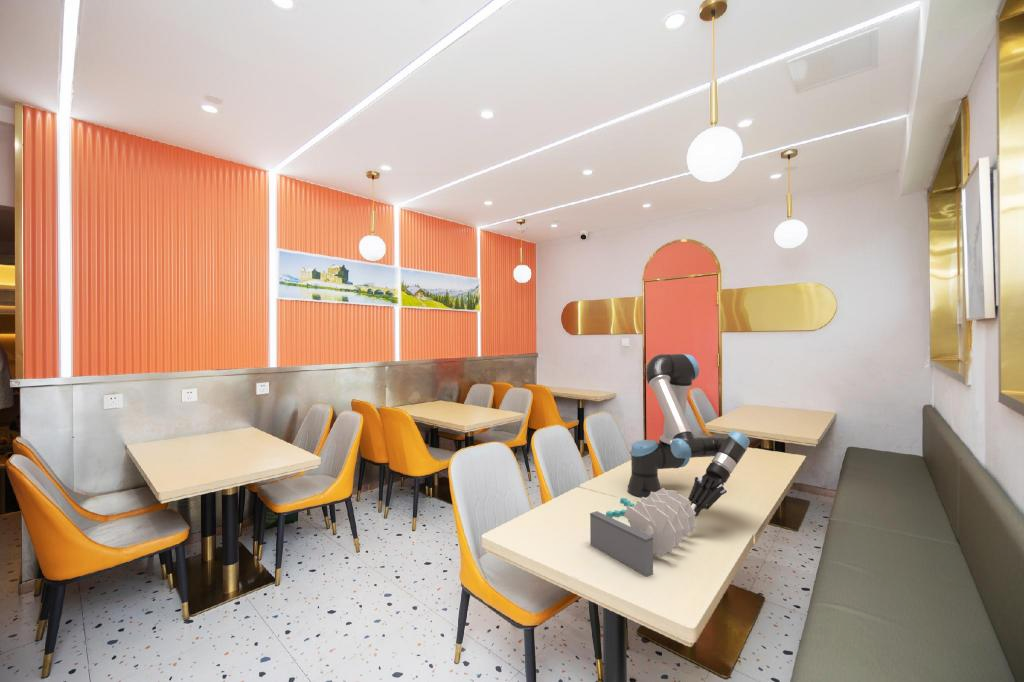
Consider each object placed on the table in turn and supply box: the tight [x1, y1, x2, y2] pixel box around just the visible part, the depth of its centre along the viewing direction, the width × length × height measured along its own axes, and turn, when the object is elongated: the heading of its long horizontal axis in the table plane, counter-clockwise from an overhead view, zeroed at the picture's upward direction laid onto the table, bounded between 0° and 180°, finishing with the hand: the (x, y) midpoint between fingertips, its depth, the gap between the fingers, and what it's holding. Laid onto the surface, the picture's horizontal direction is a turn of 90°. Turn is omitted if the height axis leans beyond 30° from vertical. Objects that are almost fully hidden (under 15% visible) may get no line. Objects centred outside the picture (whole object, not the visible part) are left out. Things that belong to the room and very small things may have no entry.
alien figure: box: [605, 497, 635, 523], centre depth 174 cm, size 20×2×20 cm
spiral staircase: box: [623, 487, 697, 558], centre depth 146 cm, size 18×18×25 cm
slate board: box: [589, 511, 654, 577], centre depth 138 cm, size 24×3×11 cm, turn 32°
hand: (686, 521), depth 152 cm, fingers closed
